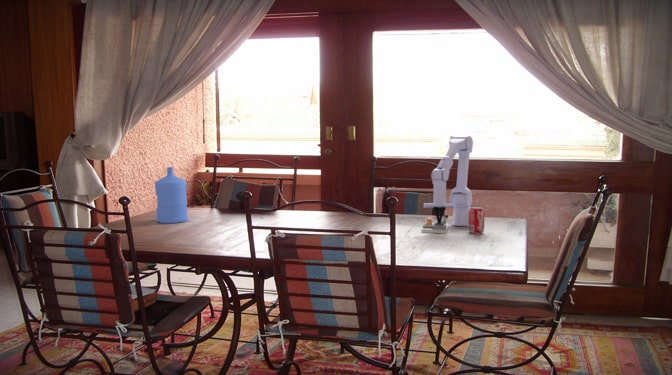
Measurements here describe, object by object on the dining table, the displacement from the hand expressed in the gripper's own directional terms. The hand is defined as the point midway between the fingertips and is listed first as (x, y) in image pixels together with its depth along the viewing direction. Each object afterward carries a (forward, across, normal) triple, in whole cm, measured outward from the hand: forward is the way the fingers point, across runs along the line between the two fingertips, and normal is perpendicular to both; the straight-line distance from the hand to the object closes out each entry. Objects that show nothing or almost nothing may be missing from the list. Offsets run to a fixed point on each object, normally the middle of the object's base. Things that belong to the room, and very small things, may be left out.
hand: (439, 223), depth 291 cm
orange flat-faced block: (+2, -5, +7) cm, 9 cm away
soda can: (+4, +17, 0) cm, 17 cm away
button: (+2, 0, 0) cm, 2 cm away
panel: (+4, -2, +5) cm, 7 cm away
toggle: (+1, +1, +10) cm, 10 cm away
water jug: (+4, -137, 0) cm, 137 cm away
